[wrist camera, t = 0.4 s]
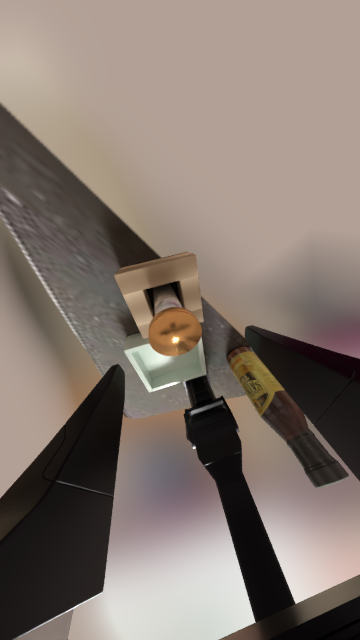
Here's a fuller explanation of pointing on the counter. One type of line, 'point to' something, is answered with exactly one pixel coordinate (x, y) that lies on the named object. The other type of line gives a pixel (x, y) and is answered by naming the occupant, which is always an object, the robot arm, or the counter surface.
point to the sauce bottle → (284, 417)
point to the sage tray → (163, 363)
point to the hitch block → (156, 274)
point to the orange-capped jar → (172, 324)
